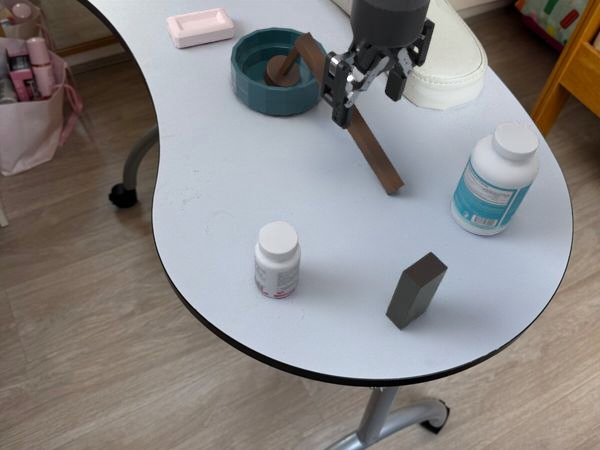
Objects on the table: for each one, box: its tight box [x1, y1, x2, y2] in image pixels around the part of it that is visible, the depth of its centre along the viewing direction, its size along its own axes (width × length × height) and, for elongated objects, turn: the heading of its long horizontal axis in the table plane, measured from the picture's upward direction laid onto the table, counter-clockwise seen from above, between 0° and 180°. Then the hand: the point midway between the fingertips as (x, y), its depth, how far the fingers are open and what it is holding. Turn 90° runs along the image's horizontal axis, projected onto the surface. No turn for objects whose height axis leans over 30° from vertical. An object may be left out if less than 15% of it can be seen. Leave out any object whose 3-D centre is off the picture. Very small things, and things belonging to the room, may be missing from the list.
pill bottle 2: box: [450, 121, 541, 236], centre depth 67 cm, size 8×7×14 cm
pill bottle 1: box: [254, 220, 302, 299], centre depth 62 cm, size 5×5×8 cm
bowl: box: [230, 26, 328, 116], centre depth 82 cm, size 13×13×5 cm
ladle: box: [263, 31, 406, 196], centre depth 77 cm, size 24×5×11 cm, turn 39°
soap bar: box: [165, 6, 235, 49], centre depth 89 cm, size 5×9×2 cm, turn 113°
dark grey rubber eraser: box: [385, 251, 449, 331], centre depth 60 cm, size 2×4×9 cm, turn 128°
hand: (367, 110), depth 70 cm, fingers open, 8 cm apart
